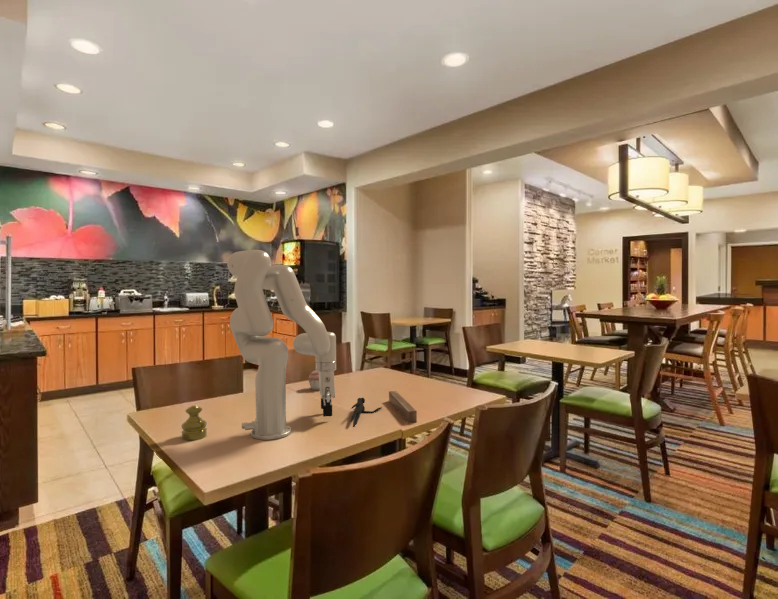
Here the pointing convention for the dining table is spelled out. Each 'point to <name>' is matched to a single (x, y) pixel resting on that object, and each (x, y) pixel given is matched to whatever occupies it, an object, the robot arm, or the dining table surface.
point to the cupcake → (314, 380)
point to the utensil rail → (403, 406)
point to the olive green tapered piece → (194, 425)
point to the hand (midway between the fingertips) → (326, 412)
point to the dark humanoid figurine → (360, 410)
